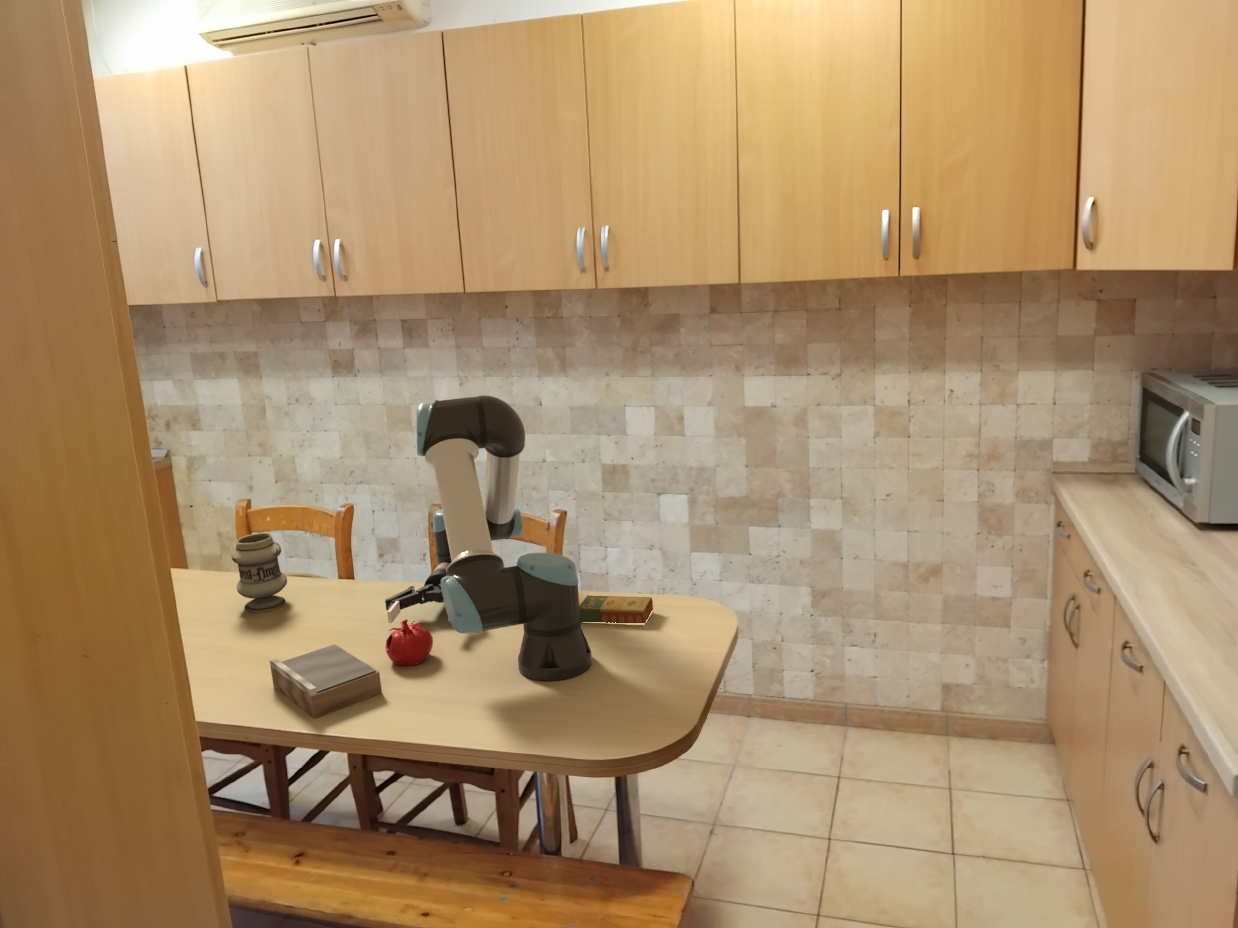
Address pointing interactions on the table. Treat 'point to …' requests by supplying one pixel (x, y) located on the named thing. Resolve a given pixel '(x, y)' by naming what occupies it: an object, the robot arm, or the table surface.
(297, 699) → the tray
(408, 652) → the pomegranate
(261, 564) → the apothecary jar
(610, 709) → the table surface
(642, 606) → the carton
